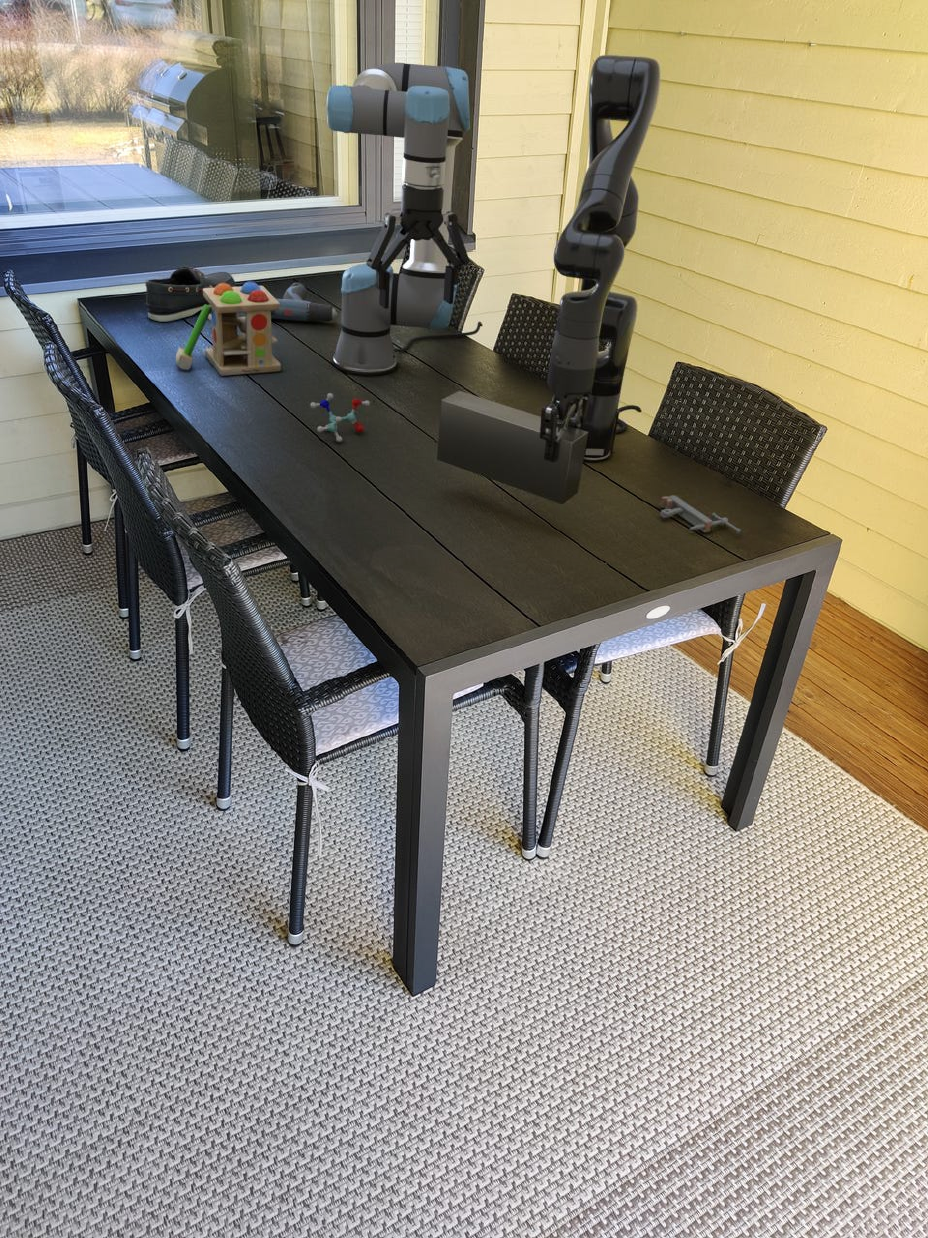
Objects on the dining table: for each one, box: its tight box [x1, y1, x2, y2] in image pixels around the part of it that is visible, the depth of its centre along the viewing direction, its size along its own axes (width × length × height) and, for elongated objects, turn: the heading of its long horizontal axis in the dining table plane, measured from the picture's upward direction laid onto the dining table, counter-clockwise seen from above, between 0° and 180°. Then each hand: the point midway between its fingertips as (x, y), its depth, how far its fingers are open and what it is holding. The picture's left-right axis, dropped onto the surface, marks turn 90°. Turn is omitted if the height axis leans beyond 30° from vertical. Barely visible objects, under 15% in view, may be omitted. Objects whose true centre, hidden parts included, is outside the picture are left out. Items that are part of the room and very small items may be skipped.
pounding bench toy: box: [174, 281, 282, 377], centre depth 225 cm, size 23×14×18 cm, turn 116°
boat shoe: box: [144, 265, 237, 323], centre depth 261 cm, size 13×33×10 cm, turn 147°
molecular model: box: [309, 392, 371, 443], centre depth 201 cm, size 12×10×10 cm
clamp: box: [659, 494, 742, 534], centre depth 183 cm, size 15×2×10 cm
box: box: [436, 390, 588, 505], centre depth 174 cm, size 26×6×12 cm, turn 58°
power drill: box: [271, 282, 338, 322], centre depth 265 cm, size 5×19×20 cm
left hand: (416, 304), depth 187 cm, fingers open, 13 cm apart
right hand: (559, 454), depth 169 cm, fingers closed on box, 6 cm apart
